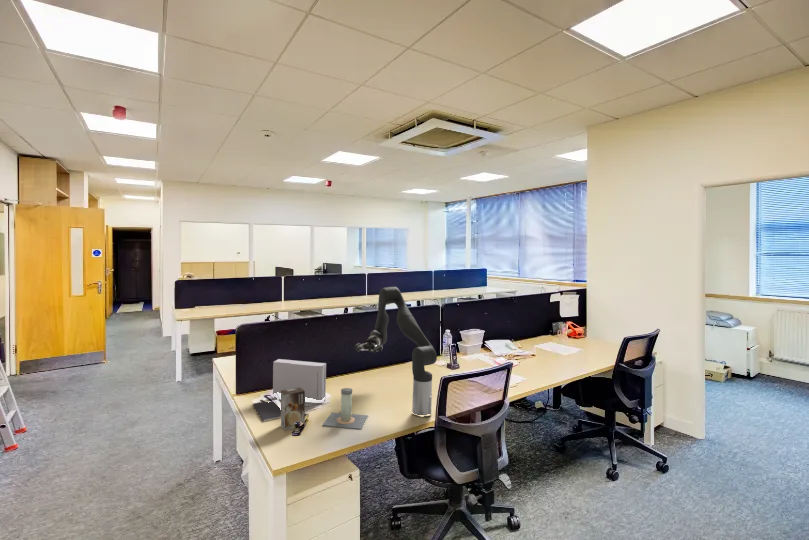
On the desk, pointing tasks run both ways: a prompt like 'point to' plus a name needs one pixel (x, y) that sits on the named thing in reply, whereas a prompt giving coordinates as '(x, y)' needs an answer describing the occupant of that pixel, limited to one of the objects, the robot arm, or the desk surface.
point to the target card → (355, 422)
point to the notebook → (267, 410)
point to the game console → (300, 377)
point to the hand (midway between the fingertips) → (366, 350)
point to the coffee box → (292, 407)
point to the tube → (346, 404)
